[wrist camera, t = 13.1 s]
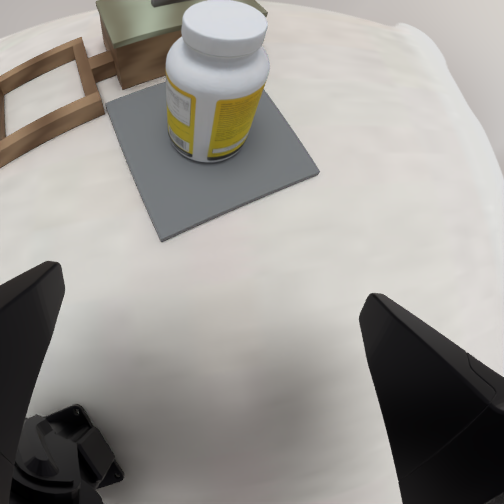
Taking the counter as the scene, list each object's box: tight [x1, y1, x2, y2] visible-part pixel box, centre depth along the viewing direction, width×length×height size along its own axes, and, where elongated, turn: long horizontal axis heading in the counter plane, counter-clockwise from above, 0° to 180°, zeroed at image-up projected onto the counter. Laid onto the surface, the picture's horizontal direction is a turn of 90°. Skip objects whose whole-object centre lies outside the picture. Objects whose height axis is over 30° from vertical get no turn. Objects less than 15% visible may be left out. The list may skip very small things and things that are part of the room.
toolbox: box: [0, 0, 268, 168], centre depth 22 cm, size 28×11×7 cm, turn 119°
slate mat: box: [105, 82, 320, 242], centre depth 25 cm, size 14×14×1 cm
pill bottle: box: [166, 0, 270, 162], centre depth 19 cm, size 6×6×12 cm
